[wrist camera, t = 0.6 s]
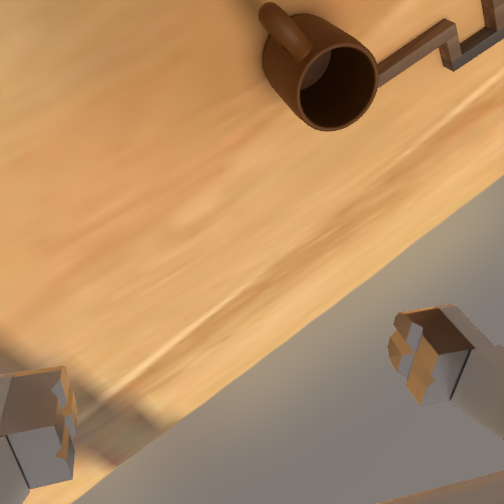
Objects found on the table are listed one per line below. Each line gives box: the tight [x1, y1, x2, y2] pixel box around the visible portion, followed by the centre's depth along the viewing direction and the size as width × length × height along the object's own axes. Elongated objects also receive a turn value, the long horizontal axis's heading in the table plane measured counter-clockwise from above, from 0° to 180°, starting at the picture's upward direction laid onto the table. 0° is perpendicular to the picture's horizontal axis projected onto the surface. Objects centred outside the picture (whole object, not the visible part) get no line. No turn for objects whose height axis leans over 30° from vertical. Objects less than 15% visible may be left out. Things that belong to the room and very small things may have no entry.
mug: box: [258, 2, 379, 131], centre depth 39 cm, size 12×8×9 cm, turn 44°
